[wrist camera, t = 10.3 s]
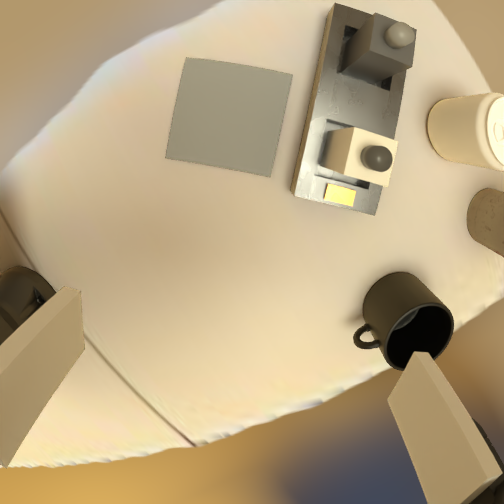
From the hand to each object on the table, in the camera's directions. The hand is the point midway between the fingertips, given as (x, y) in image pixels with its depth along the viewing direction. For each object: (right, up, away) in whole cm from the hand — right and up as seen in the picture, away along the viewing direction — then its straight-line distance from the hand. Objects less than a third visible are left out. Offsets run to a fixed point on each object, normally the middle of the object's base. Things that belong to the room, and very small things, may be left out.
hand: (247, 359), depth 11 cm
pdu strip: (+11, +20, +21) cm, 31 cm away
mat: (-2, +19, +22) cm, 29 cm away
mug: (+18, -3, +29) cm, 35 cm away
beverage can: (+25, +19, +21) cm, 38 cm away
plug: (+10, +15, +22) cm, 28 cm away
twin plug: (+12, +25, +18) cm, 33 cm away
